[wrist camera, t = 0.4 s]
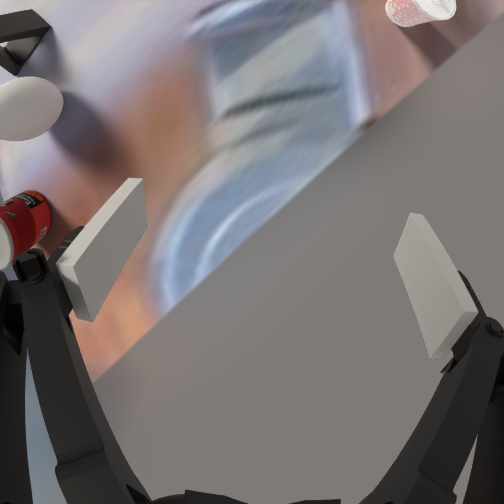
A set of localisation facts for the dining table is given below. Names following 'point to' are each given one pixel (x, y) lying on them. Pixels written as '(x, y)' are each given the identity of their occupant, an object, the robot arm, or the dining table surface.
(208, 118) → the dining table surface
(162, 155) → the dining table surface
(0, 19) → the phone stand
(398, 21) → the beverage cup
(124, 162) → the dining table surface
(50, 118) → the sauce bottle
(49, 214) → the canned food
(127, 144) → the dining table surface
